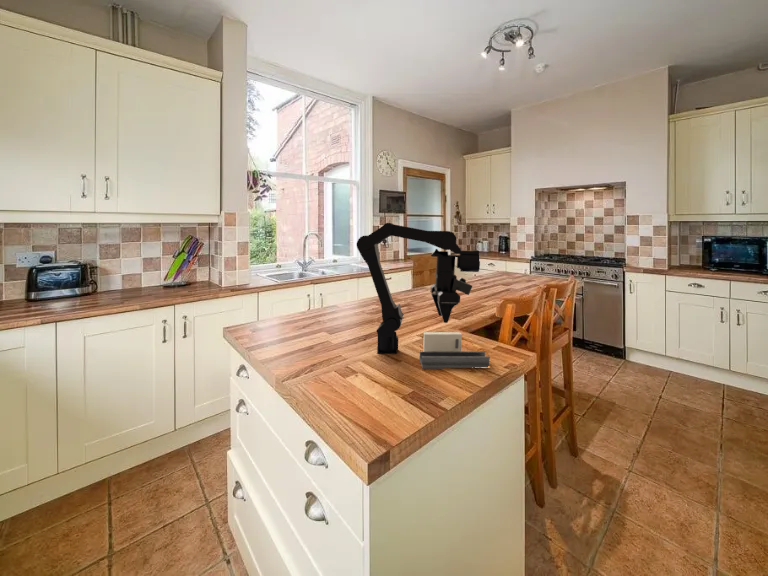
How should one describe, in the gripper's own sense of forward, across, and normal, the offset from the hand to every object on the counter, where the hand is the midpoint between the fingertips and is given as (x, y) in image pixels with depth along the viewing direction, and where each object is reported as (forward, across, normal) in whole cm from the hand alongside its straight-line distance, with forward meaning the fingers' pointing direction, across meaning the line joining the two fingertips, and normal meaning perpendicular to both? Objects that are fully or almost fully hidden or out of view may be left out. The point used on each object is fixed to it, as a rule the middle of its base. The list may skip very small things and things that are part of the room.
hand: (443, 319), depth 115 cm
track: (+12, -9, -2) cm, 15 cm away
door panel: (+12, 0, 0) cm, 12 cm away
